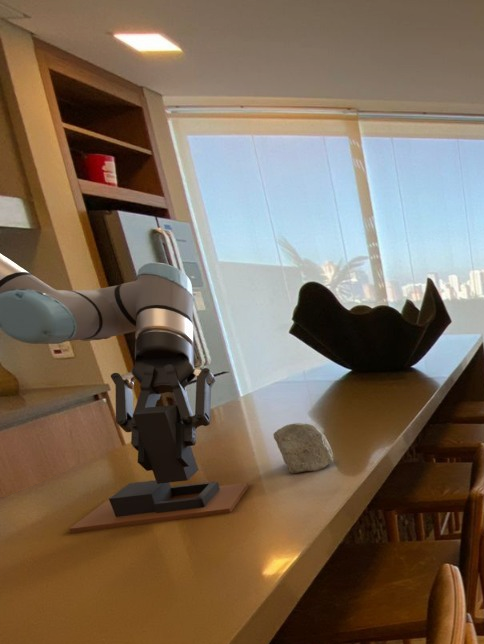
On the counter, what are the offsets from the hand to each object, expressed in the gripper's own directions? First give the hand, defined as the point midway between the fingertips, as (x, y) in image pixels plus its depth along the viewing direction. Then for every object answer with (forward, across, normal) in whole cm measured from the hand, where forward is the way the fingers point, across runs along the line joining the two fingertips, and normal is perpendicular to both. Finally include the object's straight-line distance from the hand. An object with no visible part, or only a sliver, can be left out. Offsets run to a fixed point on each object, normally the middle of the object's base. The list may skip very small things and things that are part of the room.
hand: (164, 464), depth 87 cm
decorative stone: (-9, -16, -21) cm, 28 cm away
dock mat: (+3, +3, -9) cm, 10 cm away
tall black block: (0, 0, -5) cm, 5 cm away
